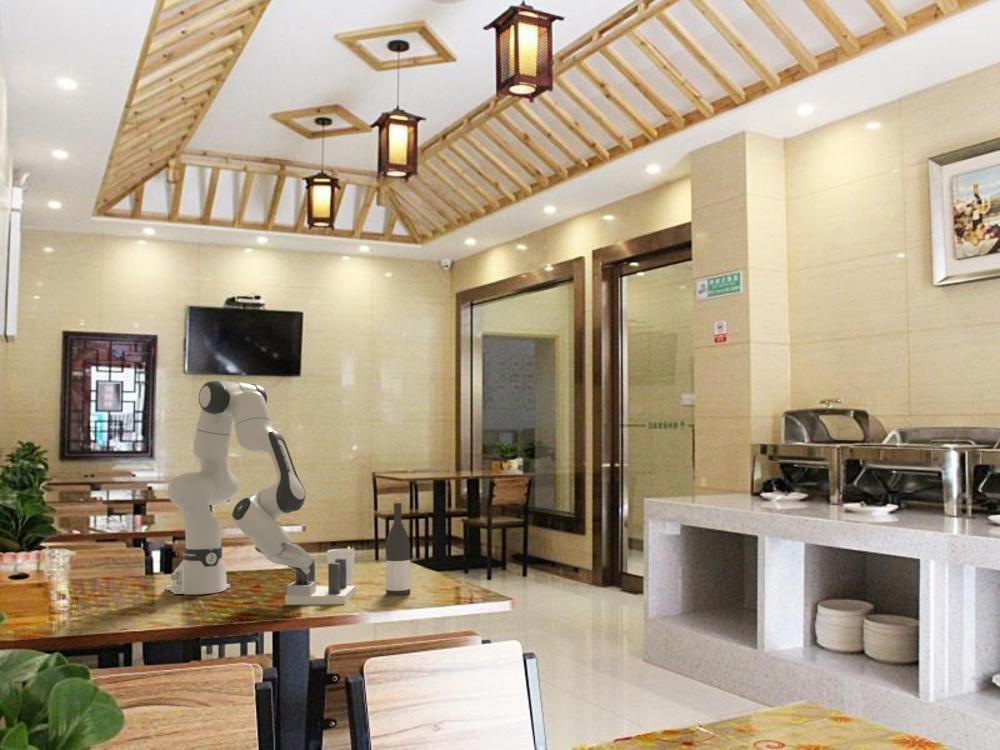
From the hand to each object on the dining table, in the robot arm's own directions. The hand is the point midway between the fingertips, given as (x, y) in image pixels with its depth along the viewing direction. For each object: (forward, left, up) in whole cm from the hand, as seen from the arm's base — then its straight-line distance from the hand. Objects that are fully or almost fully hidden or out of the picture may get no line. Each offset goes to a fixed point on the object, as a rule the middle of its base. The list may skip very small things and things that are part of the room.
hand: (303, 571), depth 279 cm
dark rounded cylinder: (0, -1, -5) cm, 5 cm away
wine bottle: (+10, +28, -9) cm, 32 cm away
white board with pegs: (0, +6, -9) cm, 11 cm away
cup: (-15, +23, -9) cm, 29 cm away
